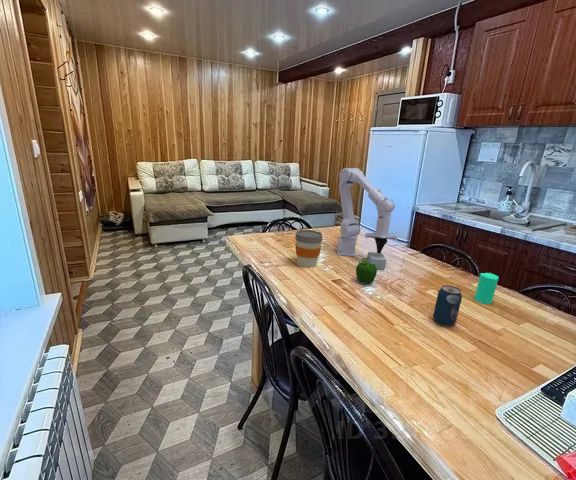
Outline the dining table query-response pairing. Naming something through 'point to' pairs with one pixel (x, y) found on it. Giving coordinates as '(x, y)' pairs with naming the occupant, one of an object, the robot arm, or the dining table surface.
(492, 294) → the candle
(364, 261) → the flat gray panel
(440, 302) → the soda can
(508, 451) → the dining table surface
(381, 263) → the slab
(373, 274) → the bell pepper
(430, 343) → the dining table surface
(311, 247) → the reusable coffee cup
